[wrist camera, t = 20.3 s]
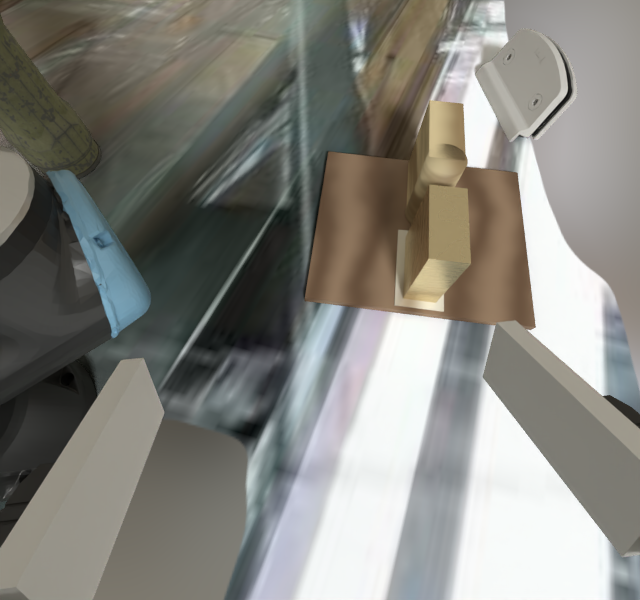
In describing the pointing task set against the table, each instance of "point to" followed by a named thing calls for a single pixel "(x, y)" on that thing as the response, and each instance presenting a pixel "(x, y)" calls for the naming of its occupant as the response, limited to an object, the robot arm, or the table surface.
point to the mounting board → (396, 218)
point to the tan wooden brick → (437, 244)
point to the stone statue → (40, 116)
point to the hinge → (528, 84)
